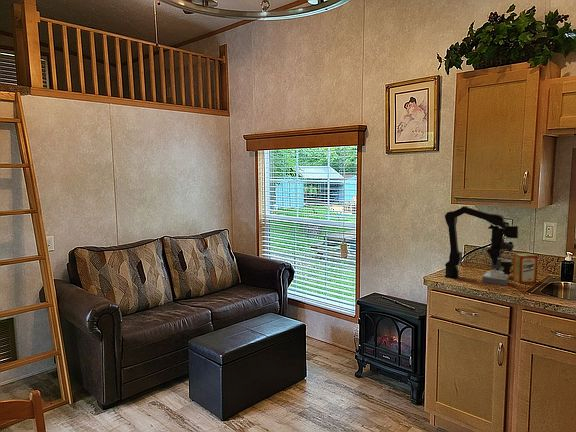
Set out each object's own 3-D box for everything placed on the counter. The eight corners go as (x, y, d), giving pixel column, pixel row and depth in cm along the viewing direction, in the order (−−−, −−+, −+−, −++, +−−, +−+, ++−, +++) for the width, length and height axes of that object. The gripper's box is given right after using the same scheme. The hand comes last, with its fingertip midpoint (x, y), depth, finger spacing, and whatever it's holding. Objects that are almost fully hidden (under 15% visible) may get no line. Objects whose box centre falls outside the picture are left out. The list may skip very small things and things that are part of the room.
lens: (489, 267, 233) (490, 255, 233) (491, 266, 237) (492, 254, 237) (500, 269, 230) (500, 256, 229) (501, 267, 234) (502, 255, 233)
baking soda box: (519, 283, 232) (520, 255, 230) (513, 280, 238) (514, 253, 237) (536, 283, 232) (537, 255, 231) (529, 280, 239) (530, 253, 237)
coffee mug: (491, 275, 250) (492, 259, 249) (502, 274, 253) (502, 258, 252) (507, 280, 239) (508, 263, 238) (518, 278, 242) (519, 262, 241)
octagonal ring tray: (482, 282, 235) (482, 272, 234) (485, 279, 242) (486, 269, 241) (505, 285, 227) (506, 275, 227) (508, 282, 234) (509, 271, 234)
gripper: (510, 240, 220) (508, 269, 221) (516, 236, 234) (514, 263, 236) (487, 238, 227) (486, 266, 228) (494, 234, 241) (493, 260, 243)
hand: (496, 264), depth 234 cm, fingers closed on lens, 5 cm apart
